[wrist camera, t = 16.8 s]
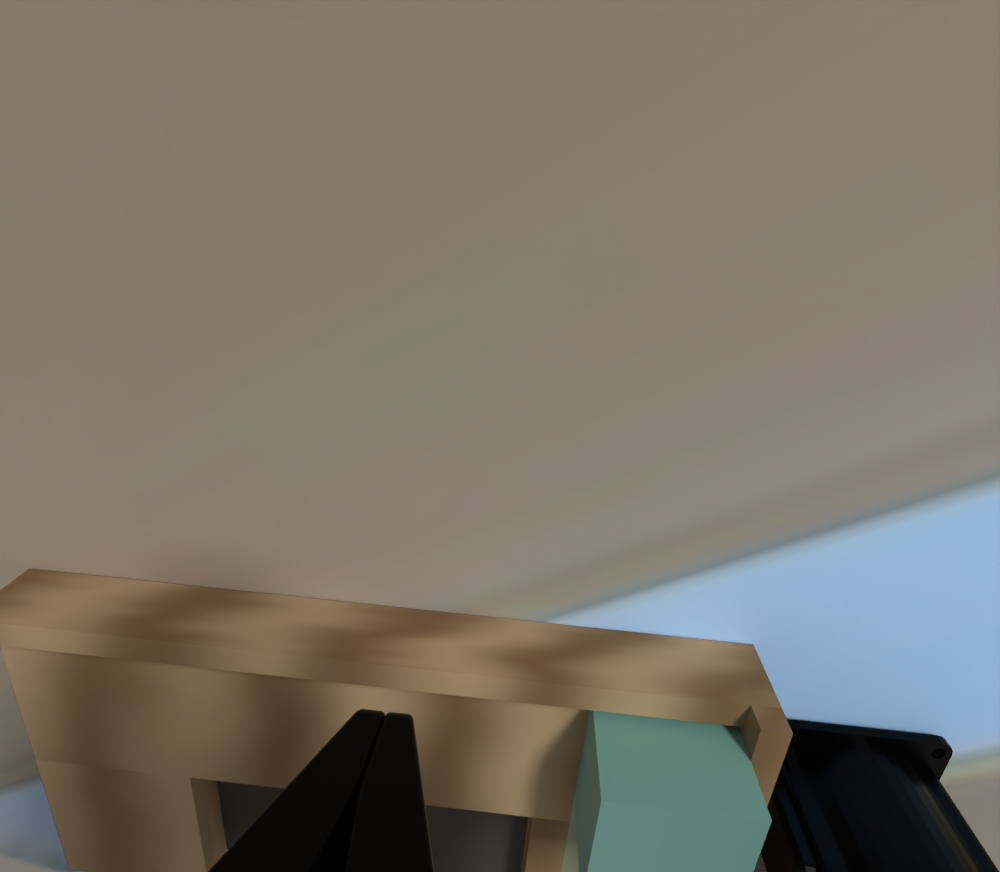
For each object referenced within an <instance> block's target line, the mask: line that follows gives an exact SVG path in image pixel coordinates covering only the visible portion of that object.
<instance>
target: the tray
mask: <svg viewBox="0 0 1000 872" xmlns="http://www.w3.org/2000/svg"><path fill="white" fill-rule="evenodd" d="M0 647H1V650H2V653H3V657H4V660H5V663H6V666H7V670H8V673H9V676H10V679H11V683H12V686H13V689H14V692H15V695H16V699H17V702H18V705H19V708H20V712H21V715H22V718H23V721H24V725H25V728H26V731H27V734H28V737H29V741H30V744H31V747H32V750H33V754H34V757H35V760H36V763H37V767H38V770H39V773H40V776H41V780H42V783H43V786H44V789H45V792H46V796H47V799H48V802H49V805H50V809H51V812H52V815H53V818H54V822H55V825H56V828H57V831H58V834H59V838H60V841H61V844H62V847H63V851H64V854H65V857H66V860H67V864H68V867H69V869H70V870H78V871H86V872H208V871H209V870H210V869H211V868H212V866H213V865H214V864H215V863H216V862H217V861H218V860H219V859H220V858H221V857H222V856H223V855H224V854H225V852H226V850H227V849H229V848H230V847H231V846H232V845H233V844H234V843H235V842H236V841H237V839H238V838H239V837H240V836H241V835H242V834H243V833H244V832H245V831H246V830H247V829H248V828H249V827H250V825H251V824H252V823H253V822H254V821H255V820H256V819H257V818H258V817H259V816H260V815H261V814H262V813H263V811H264V810H265V809H266V808H267V807H268V806H269V805H270V804H271V803H272V802H273V801H274V800H275V799H276V797H277V796H278V795H279V794H280V793H281V792H282V791H283V790H284V789H285V788H286V787H287V786H288V785H289V783H290V782H291V781H292V780H293V779H294V778H295V777H296V776H297V775H298V774H299V773H300V772H301V770H302V769H303V768H304V767H305V766H306V765H307V764H308V763H309V762H310V761H311V760H312V759H313V758H314V756H315V755H316V754H317V753H318V752H319V751H320V750H321V749H322V748H323V747H324V746H325V745H326V744H327V742H328V741H329V740H330V739H331V738H332V737H333V736H334V735H335V734H336V733H337V732H338V731H339V730H340V728H341V727H342V726H343V725H344V724H345V723H346V722H347V721H348V720H349V719H350V718H351V717H352V716H353V714H354V713H355V712H356V711H358V710H360V709H369V710H378V711H382V712H384V713H385V715H386V714H387V713H389V712H396V713H405V714H410V715H412V717H413V720H414V727H415V734H416V741H417V749H418V756H419V763H420V770H421V778H422V785H423V792H424V799H425V806H426V814H427V821H428V828H429V835H430V843H431V850H432V857H433V864H434V871H435V872H579V866H578V845H577V825H576V804H575V791H576V785H577V779H578V773H579V768H580V762H581V756H582V751H583V745H584V739H585V733H586V728H587V722H588V716H589V710H592V711H601V712H610V713H619V714H628V715H637V716H646V717H656V718H665V719H674V720H683V721H692V722H701V723H710V724H719V725H729V726H738V727H739V729H740V732H741V735H742V738H743V741H744V743H745V746H746V749H747V752H748V755H749V757H750V760H751V763H752V766H753V769H754V771H755V774H756V777H757V780H758V783H759V786H760V788H761V791H762V794H763V797H764V800H765V802H766V805H767V806H768V803H769V800H770V797H771V795H772V792H773V789H774V786H775V783H776V781H777V778H778V775H779V772H780V769H781V766H782V764H783V761H784V758H785V755H786V752H787V750H788V747H789V744H790V741H791V738H792V735H793V732H792V730H791V728H790V725H789V723H788V721H787V719H786V716H785V714H784V712H783V710H782V708H781V705H780V703H779V701H778V699H777V696H776V694H775V692H774V690H773V688H772V685H771V683H770V681H769V679H768V676H767V674H766V672H765V670H764V668H763V665H762V663H761V661H760V659H759V656H758V654H757V652H756V650H755V647H754V645H751V644H741V643H732V642H722V641H713V640H703V639H694V638H684V637H675V636H665V635H656V634H646V633H637V632H627V631H618V630H608V629H599V628H589V627H579V626H570V625H560V624H551V623H541V622H532V621H522V620H513V619H503V618H494V617H484V616H475V615H465V614H456V613H446V612H437V611H427V610H418V609H408V608H398V607H389V606H379V605H370V604H360V603H351V602H341V601H332V600H322V599H313V598H303V597H294V596H284V595H275V594H265V593H256V592H246V591H237V590H227V589H218V588H208V587H198V586H189V585H179V584H170V583H160V582H151V581H141V580H132V579H122V578H113V577H103V576H94V575H84V574H75V573H65V572H56V571H46V570H37V569H28V570H27V571H26V572H24V573H23V574H22V575H20V576H19V577H18V578H16V579H15V580H14V581H12V582H11V583H10V584H8V585H7V586H6V587H4V588H3V589H2V590H0Z"/></svg>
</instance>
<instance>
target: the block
mask: <svg viewBox="0 0 1000 872" xmlns="http://www.w3.org/2000/svg"><path fill="white" fill-rule="evenodd" d="M575 804H576V825H577V845H578V866H579V872H754V869H755V866H756V863H757V861H758V858H759V855H760V852H761V850H762V847H763V844H764V841H765V839H766V836H767V833H768V830H769V828H770V825H771V822H772V819H771V817H770V814H769V811H768V808H767V805H766V802H765V800H764V797H763V794H762V791H761V788H760V786H759V783H758V780H757V777H756V774H755V771H754V769H753V766H752V763H751V760H750V757H749V755H748V752H747V749H746V746H745V743H744V741H743V738H742V735H741V732H740V729H739V727H738V726H729V725H719V724H710V723H701V722H692V721H683V720H674V719H665V718H656V717H646V716H637V715H628V714H619V713H610V712H601V711H592V710H589V716H588V722H587V728H586V733H585V739H584V745H583V751H582V756H581V762H580V768H579V773H578V779H577V785H576V791H575Z"/></svg>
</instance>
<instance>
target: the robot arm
mask: <svg viewBox="0 0 1000 872" xmlns="http://www.w3.org/2000/svg"><path fill="white" fill-rule="evenodd" d="M787 721H788V723H789V725H790V728H791V730H792V732H793V735H792V738H791V741H790V744H789V747H788V750H787V752H786V755H785V758H784V761H783V764H782V766H781V769H780V772H779V775H778V778H777V781H776V783H775V786H774V789H773V792H772V795H771V797H770V800H769V803H768V806H767V808H768V811H769V814H770V817H771V819H772V822H771V825H770V828H769V830H768V833H767V836H766V839H765V841H764V844H763V847H762V850H761V854H762V858H763V861H764V864H765V867H766V870H767V872H999V871H998V869H997V868H996V866H995V865H994V863H993V862H992V860H991V859H990V857H989V856H988V854H987V852H986V851H985V849H984V848H983V846H982V845H981V843H980V842H979V840H978V839H977V837H976V836H975V834H974V833H973V831H972V830H971V828H970V827H969V825H968V824H967V822H966V821H965V819H964V818H963V816H962V814H961V813H960V811H959V810H958V808H957V807H956V805H955V804H954V802H953V801H952V799H951V798H950V796H949V795H948V793H947V792H946V790H945V789H944V787H943V786H942V784H941V783H940V781H939V780H940V778H941V776H942V774H943V772H944V770H945V768H946V766H947V764H948V762H949V760H950V758H951V756H952V752H953V751H952V748H951V747H950V745H949V744H948V743H947V741H946V740H945V739H944V738H943V737H941V736H937V735H928V734H919V733H910V732H900V731H891V730H882V729H873V728H864V727H855V726H845V725H836V724H827V723H818V722H809V721H799V720H787ZM208 872H435V871H434V864H433V857H432V850H431V843H430V835H429V828H428V821H427V814H426V806H425V799H424V792H423V785H422V778H421V770H420V763H419V756H418V749H417V741H416V734H415V727H414V720H413V717H412V715H410V714H405V713H396V712H389V713H387V714H386V715H385V713H384V712H382V711H378V710H369V709H360V710H358V711H356V712H355V713H354V714H353V716H352V717H351V718H350V719H349V720H348V721H347V722H346V723H345V724H344V725H343V726H342V727H341V728H340V730H339V731H338V732H337V733H336V734H335V735H334V736H333V737H332V738H331V739H330V740H329V741H328V742H327V744H326V745H325V746H324V747H323V748H322V749H321V750H320V751H319V752H318V753H317V754H316V755H315V756H314V758H313V759H312V760H311V761H310V762H309V763H308V764H307V765H306V766H305V767H304V768H303V769H302V770H301V772H300V773H299V774H298V775H297V776H296V777H295V778H294V779H293V780H292V781H291V782H290V783H289V785H288V786H287V787H286V788H285V789H284V790H283V791H282V792H281V793H280V794H279V795H278V796H277V797H276V799H275V800H274V801H273V802H272V803H271V804H270V805H269V806H268V807H267V808H266V809H265V810H264V811H263V813H262V814H261V815H260V816H259V817H258V818H257V819H256V820H255V821H254V822H253V823H252V824H251V825H250V827H249V828H248V829H247V830H246V831H245V832H244V833H243V834H242V835H241V836H240V837H239V838H238V839H237V841H236V842H235V843H234V844H233V845H232V846H231V847H230V848H229V849H228V850H227V851H226V852H225V854H224V855H223V856H222V857H221V858H220V859H219V860H218V861H217V862H216V863H215V864H214V865H213V866H212V868H211V869H210V870H209V871H208Z"/></svg>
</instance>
